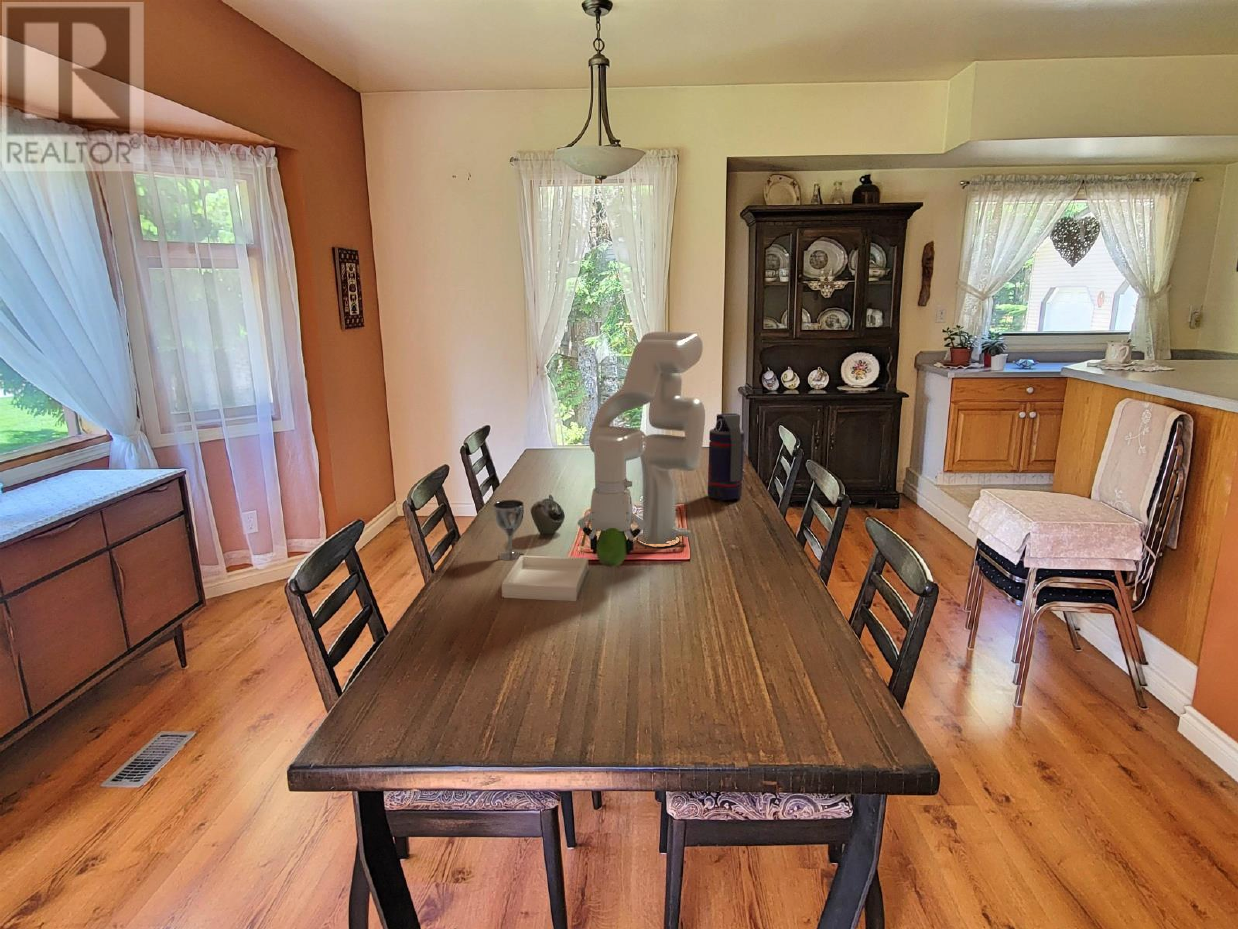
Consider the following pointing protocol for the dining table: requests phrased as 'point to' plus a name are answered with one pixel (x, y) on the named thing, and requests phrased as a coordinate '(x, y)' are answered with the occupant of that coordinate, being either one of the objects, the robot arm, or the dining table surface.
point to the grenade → (726, 458)
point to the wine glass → (509, 523)
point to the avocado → (611, 547)
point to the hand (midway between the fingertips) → (612, 552)
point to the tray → (546, 578)
